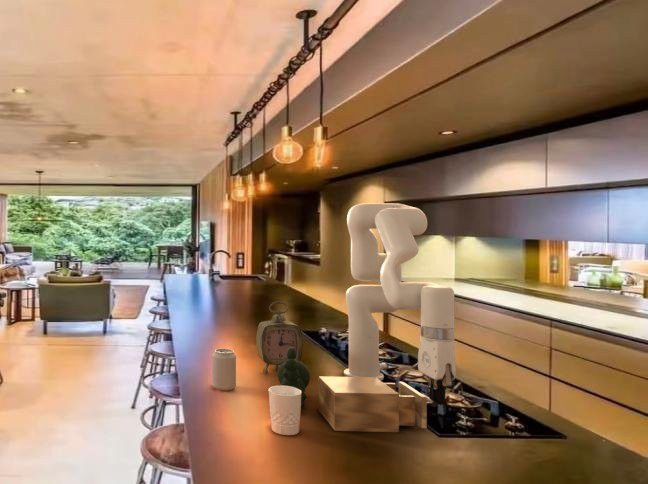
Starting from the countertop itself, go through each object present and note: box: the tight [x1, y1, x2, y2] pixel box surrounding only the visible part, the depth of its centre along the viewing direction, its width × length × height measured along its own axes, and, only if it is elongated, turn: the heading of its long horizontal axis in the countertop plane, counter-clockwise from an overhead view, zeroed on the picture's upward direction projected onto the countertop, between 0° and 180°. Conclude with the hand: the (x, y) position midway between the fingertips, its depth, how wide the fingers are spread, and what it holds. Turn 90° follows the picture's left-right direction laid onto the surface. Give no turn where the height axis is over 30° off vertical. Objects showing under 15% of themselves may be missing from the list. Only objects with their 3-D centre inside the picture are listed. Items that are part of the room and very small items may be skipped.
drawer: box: [383, 381, 438, 429], centre depth 126 cm, size 19×12×8 cm, turn 87°
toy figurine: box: [277, 347, 311, 410], centre depth 140 cm, size 9×19×25 cm
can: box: [211, 348, 237, 392], centre depth 153 cm, size 8×8×12 cm
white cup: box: [268, 384, 302, 436], centre depth 120 cm, size 8×8×10 cm
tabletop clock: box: [255, 301, 304, 375], centre depth 171 cm, size 14×9×25 cm, turn 91°
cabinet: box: [318, 375, 400, 433], centre depth 126 cm, size 16×14×10 cm
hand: (437, 403), depth 125 cm, fingers closed
